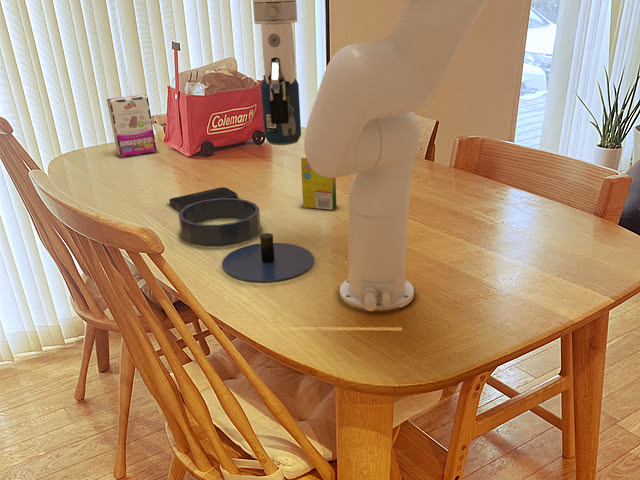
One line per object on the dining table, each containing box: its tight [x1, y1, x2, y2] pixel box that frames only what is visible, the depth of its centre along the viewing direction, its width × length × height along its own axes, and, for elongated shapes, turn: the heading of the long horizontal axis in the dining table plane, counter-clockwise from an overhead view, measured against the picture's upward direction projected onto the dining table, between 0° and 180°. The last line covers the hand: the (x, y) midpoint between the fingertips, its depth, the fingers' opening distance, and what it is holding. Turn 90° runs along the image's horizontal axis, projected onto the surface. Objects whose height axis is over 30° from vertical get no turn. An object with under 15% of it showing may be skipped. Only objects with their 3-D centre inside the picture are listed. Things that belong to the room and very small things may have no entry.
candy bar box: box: [106, 94, 158, 159], centre depth 187 cm, size 11×5×16 cm, turn 119°
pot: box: [177, 198, 262, 247], centre depth 132 cm, size 16×16×5 cm
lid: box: [221, 232, 315, 284], centre depth 117 cm, size 17×17×6 cm
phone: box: [168, 186, 239, 212], centre depth 151 cm, size 8×1×15 cm
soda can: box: [260, 74, 302, 146], centre depth 117 cm, size 7×7×12 cm
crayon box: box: [300, 157, 337, 211], centre depth 143 cm, size 7×3×12 cm, turn 70°
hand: (281, 118), depth 118 cm, fingers closed on soda can, 7 cm apart
